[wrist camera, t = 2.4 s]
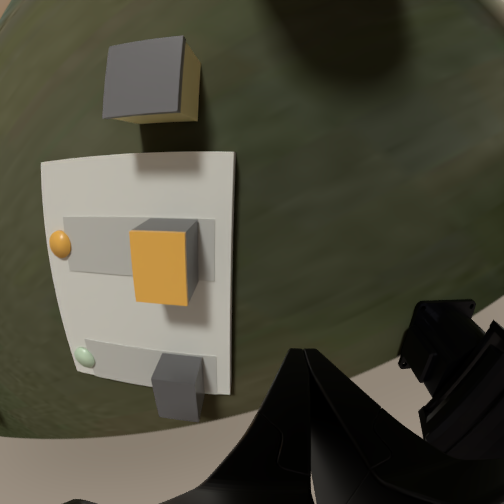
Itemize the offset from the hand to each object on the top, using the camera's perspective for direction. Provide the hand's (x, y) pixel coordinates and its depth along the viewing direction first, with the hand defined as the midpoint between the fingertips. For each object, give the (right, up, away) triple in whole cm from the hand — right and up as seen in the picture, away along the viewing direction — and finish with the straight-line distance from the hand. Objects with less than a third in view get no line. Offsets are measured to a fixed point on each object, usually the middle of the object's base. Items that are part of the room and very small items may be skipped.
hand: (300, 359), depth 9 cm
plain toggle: (-7, -6, +13) cm, 16 cm away
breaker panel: (-10, +1, +12) cm, 16 cm away
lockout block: (-7, +13, +8) cm, 17 cm away
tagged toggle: (-6, +3, +10) cm, 12 cm away
